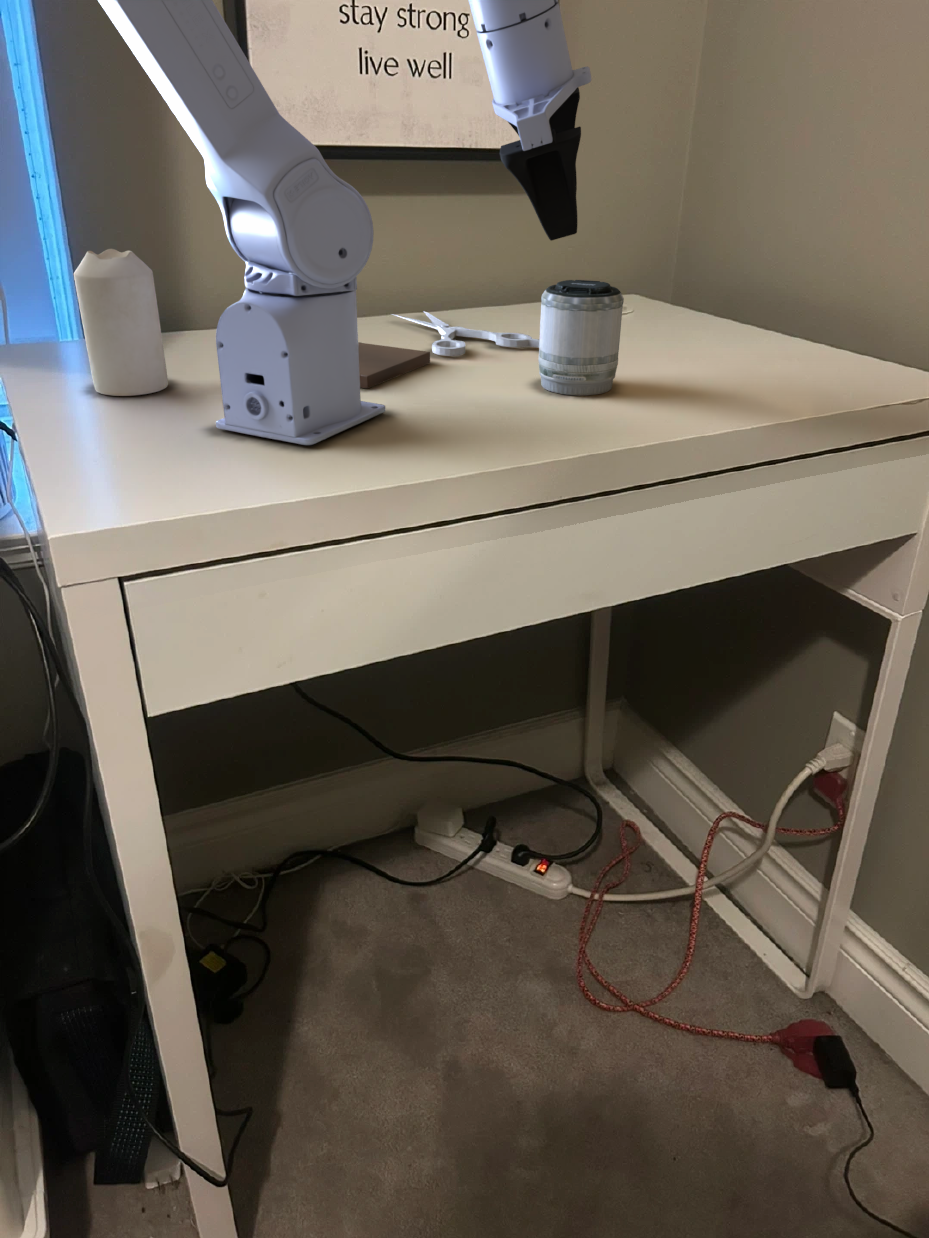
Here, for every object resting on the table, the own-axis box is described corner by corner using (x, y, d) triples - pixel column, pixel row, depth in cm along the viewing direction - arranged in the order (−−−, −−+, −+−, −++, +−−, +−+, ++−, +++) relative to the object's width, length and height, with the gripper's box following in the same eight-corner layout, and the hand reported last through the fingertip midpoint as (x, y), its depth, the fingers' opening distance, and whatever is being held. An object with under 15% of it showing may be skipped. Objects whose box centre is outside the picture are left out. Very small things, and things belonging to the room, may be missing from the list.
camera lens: (545, 374, 77) (551, 275, 73) (620, 380, 76) (630, 279, 72) (529, 393, 72) (534, 287, 68) (609, 400, 70) (619, 292, 66)
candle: (91, 399, 69) (65, 256, 64) (97, 381, 73) (73, 246, 69) (168, 394, 70) (148, 254, 65) (168, 377, 75) (150, 245, 70)
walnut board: (367, 388, 72) (367, 376, 72) (266, 373, 76) (265, 361, 76) (430, 363, 80) (430, 351, 80) (335, 350, 84) (334, 339, 84)
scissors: (450, 352, 80) (359, 312, 95) (450, 361, 80) (359, 320, 95) (552, 341, 84) (449, 305, 100) (551, 350, 85) (449, 312, 100)
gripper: (576, 19, 55) (619, 238, 64) (574, -23, 66) (612, 170, 75) (465, 57, 57) (521, 265, 66) (480, 10, 68) (528, 195, 76)
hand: (563, 216), depth 70 cm, fingers open, 7 cm apart
